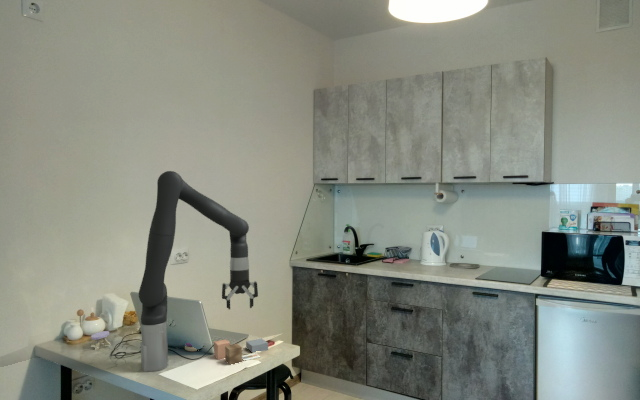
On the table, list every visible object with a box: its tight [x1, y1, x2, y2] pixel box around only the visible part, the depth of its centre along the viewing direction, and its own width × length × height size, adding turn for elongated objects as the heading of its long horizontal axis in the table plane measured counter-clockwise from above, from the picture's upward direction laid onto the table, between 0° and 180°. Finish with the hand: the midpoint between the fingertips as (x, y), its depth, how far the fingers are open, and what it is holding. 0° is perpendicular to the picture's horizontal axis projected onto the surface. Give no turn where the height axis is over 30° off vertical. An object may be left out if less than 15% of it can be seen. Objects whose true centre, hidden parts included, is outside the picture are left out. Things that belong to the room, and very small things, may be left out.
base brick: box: [245, 338, 269, 354], centre depth 188 cm, size 7×7×3 cm
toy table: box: [90, 330, 112, 348], centre depth 197 cm, size 10×9×6 cm
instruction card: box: [242, 353, 261, 362], centre depth 179 cm, size 7×5×1 cm
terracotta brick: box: [213, 338, 231, 361], centre depth 181 cm, size 5×5×6 cm
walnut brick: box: [225, 343, 243, 366], centre depth 175 cm, size 5×5×6 cm
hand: (240, 308), depth 181 cm, fingers open, 8 cm apart
